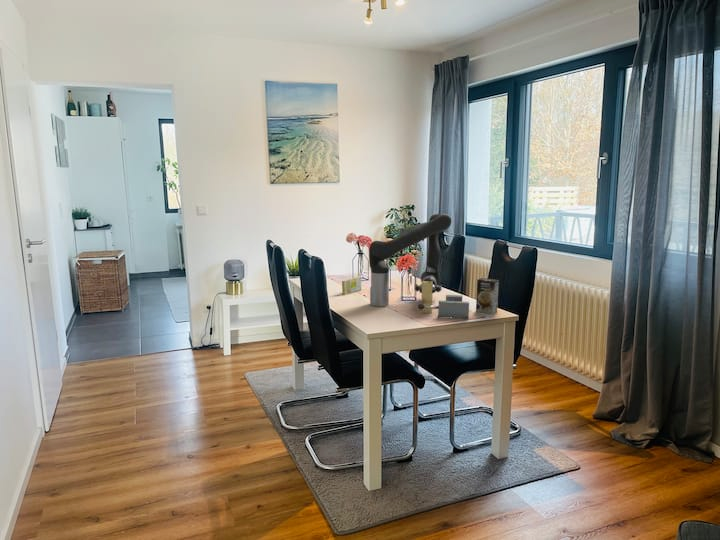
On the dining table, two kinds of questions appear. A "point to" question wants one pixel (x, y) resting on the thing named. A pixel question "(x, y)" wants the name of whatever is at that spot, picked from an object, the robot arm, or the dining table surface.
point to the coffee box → (487, 295)
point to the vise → (450, 309)
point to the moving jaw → (454, 298)
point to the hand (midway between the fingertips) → (427, 291)
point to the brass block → (427, 296)
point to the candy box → (351, 285)
